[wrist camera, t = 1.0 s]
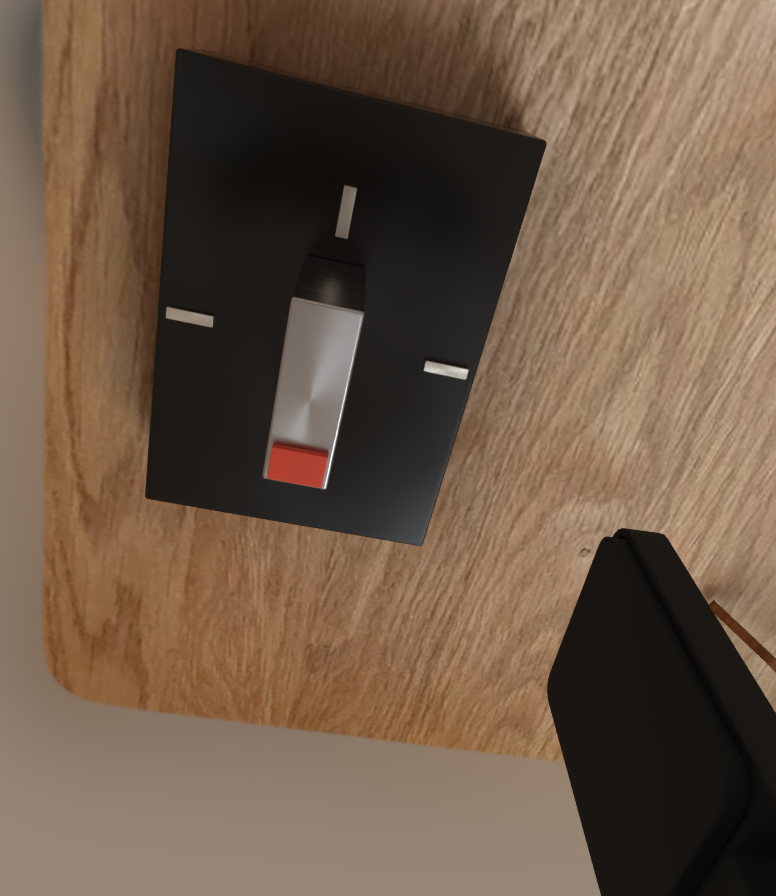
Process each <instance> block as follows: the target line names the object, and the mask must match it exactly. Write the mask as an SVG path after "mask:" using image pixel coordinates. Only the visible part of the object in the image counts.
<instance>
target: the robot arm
mask: <svg viewBox="0 0 776 896" xmlns="http://www.w3.org/2000/svg"><path fill="white" fill-rule="evenodd" d="M547 693H548V701H549V705H550V709H551V713H552V716H553V720H554V724H555V728H556V731H557V735H558V739H559V742H560V746H561V750H562V753H563V757H564V761H565V764H566V768H567V772H568V775H569V779H570V782H571V787H572V790H573V794H574V798H575V801H576V805H577V809H578V812H579V816H580V819H581V823H582V827H583V830H584V834H585V838H586V842H587V845H588V849H589V853H590V857H591V860H592V863H593V868H594V871H595V875H596V878H597V882H598V885H599V889H600V893H601V896H776V713H775V711H774V710H773V708H772V706H771V705H770V703H769V701H768V700H767V698H766V697H765V695H764V693H763V692H762V690H761V689H760V687H759V685H758V684H757V682H756V680H755V679H754V677H753V676H752V674H751V672H750V671H749V669H748V668H747V666H746V664H745V663H744V661H743V659H742V658H741V656H740V655H739V653H738V651H737V650H736V648H735V647H734V645H733V643H732V642H731V640H730V639H729V637H728V635H727V634H726V632H725V630H724V629H723V627H722V626H721V624H720V622H719V621H718V619H717V618H716V616H715V614H714V613H713V611H712V609H711V608H710V606H709V605H708V603H707V601H706V600H705V598H704V597H703V595H702V593H701V592H700V590H699V589H698V587H697V585H696V584H695V582H694V580H693V579H692V577H691V576H690V574H689V572H688V571H687V569H686V568H685V566H684V564H683V563H682V561H681V559H680V558H679V556H678V555H677V553H676V551H675V550H674V548H673V547H672V545H671V543H670V542H669V540H668V539H667V538H666V536H665V535H664V534H661V533H655V532H648V531H640V530H633V529H625V528H622V529H619V530H618V531H617V532H616V533H615V534H614V536H613V537H605V538H603V539H602V540H601V542H600V544H599V546H598V549H597V551H596V554H595V557H594V559H593V562H592V565H591V567H590V570H589V572H588V575H587V578H586V580H585V583H584V585H583V588H582V591H581V593H580V596H579V598H578V601H577V604H576V606H575V609H574V612H573V614H572V617H571V619H570V622H569V625H568V627H567V630H566V632H565V635H564V638H563V640H562V643H561V645H560V648H559V651H558V653H557V656H556V658H555V661H554V664H553V666H552V669H551V672H550V675H549V678H548V687H547Z"/></svg>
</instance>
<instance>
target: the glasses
mask: <svg viewBox="0 0 776 896" xmlns="http://www.w3.org/2000/svg"><path fill="white" fill-rule="evenodd" d="M709 606H710V608H711V609H712V611H713V613H714V614H715V615H716V616H717V617H719V618H720V619H721V620H722V621H723V622H724V623H725V624H726V625H727V626H728V627H729V628H730V629H731V630H732V631H733V632H734V633H735V634H737V635H738V636H739V637H740V638H741V639H742V640H743V641H744V642H745V643H746V644H747V645H748V646H749V647H750V648H751V649H752V650H753V651H754V652H756V653H757V654H758V655H759V656H760V657H761V658H762V659H763V660H764V661H765V662H766V663H767V664H768V665H769V666H770V667H771V668H772V669H773V670H774V671H775V672H776V658H775V657H774V656H773V655H772V654H771V653H769V652H768V651H767V650H766V649H765V648H764V647H763V646H762V645H761V644H760V643H759V642H758V641H757V640H756V639H755V638H754V637H752V636H751V635H750V634H749V633H748V632H747V631H746V630H745V629H744V628H743V627H742V626H741V625H740V624H739V623H738V622H736V621H735V620H734V619H733V618H732V617H731V616H730V615H729V614H728V613H727V612H726V611H725V610H724V609H723V608H722V607H720V606H719V605H718V604H717V603H716V602H715V601H714V600H713V601H712V602H711V603H710V604H709Z"/></svg>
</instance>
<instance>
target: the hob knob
mask: <svg viewBox="0 0 776 896" xmlns="http://www.w3.org/2000/svg"><path fill="white" fill-rule="evenodd" d="M365 293H366V268H364V267H359V266H355V265H350V264H346V263H341V262H337V261H332V260H328V259H323V258H319V257H314V256H310V255H308V256H306V257H305V260H304V263H303V266H302V269H301V272H300V274H299V277H298V280H297V283H296V286H295V289H294V292H293V294H292V297H291V301H290V307H289V314H288V320H287V326H286V332H285V338H284V344H283V350H282V357H281V363H280V369H279V375H278V381H277V387H276V393H275V400H274V406H273V412H272V418H271V424H270V430H269V436H268V443H267V449H266V455H265V461H264V467H263V473H262V476H263V478H264V479H269V480H274V481H280V482H285V483H291V484H297V485H302V486H308V487H313V488H319V489H326V488H327V486H328V481H329V477H330V472H331V467H332V463H333V458H334V454H335V449H336V444H337V440H338V435H339V431H340V426H341V421H342V417H343V412H344V408H345V403H346V398H347V394H348V389H349V385H350V380H351V375H352V371H353V366H354V362H355V357H356V352H357V348H358V343H359V339H360V334H361V329H362V325H363V320H364V316H365Z"/></svg>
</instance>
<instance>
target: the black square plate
mask: <svg viewBox="0 0 776 896" xmlns="http://www.w3.org/2000/svg"><path fill="white" fill-rule="evenodd" d="M545 148H546V141H545V140H543V139H541V138H539V137H536V136H534V135H532V134H530V133H528V132H525V131H522V130H518V129H514V128H510V127H506V126H502V125H498V124H494V123H490V122H487V121H483V120H479V119H475V118H471V117H467V116H463V115H459V114H455V113H451V112H447V111H443V110H439V109H435V108H431V107H427V106H423V105H419V104H415V103H411V102H408V101H404V100H400V99H396V98H392V97H388V96H384V95H380V94H376V93H372V92H368V91H364V90H360V89H356V88H352V87H348V86H344V85H340V84H336V83H333V82H329V81H325V80H321V79H317V78H313V77H309V76H305V75H301V74H297V73H293V72H289V71H285V70H281V69H277V68H273V67H269V66H265V65H261V64H258V63H254V62H250V61H246V60H242V59H238V58H234V57H230V56H226V55H222V54H218V53H214V52H210V51H206V50H199V49H185V48H179V49H177V50H176V57H175V72H174V86H173V101H172V115H171V130H170V144H169V158H168V173H167V187H166V202H165V216H164V231H163V245H162V260H161V274H160V288H159V303H158V317H157V332H156V346H155V361H154V375H153V390H152V404H151V418H150V433H149V447H148V462H147V476H146V491H145V497H146V498H147V499H151V500H157V501H163V502H169V503H175V504H180V505H186V506H192V507H198V508H203V509H209V510H215V511H221V512H226V513H232V514H238V515H244V516H250V517H255V518H261V519H267V520H273V521H278V522H284V523H290V524H296V525H301V526H307V527H313V528H319V529H325V530H330V531H336V532H342V533H348V534H353V535H359V536H365V537H371V538H377V539H382V540H388V541H394V542H400V543H405V544H411V545H417V546H422V544H423V542H424V538H425V535H426V532H427V529H428V525H429V522H430V519H431V516H432V513H433V509H434V506H435V503H436V500H437V496H438V493H439V490H440V487H441V484H442V480H443V477H444V474H445V471H446V467H447V464H448V461H449V458H450V455H451V451H452V448H453V445H454V442H455V438H456V435H457V432H458V429H459V425H460V422H461V419H462V416H463V413H464V409H465V406H466V403H467V400H468V396H469V393H470V390H471V387H472V384H473V380H474V377H475V374H476V371H477V367H478V364H479V361H480V358H481V354H482V351H483V348H484V345H485V342H486V338H487V335H488V332H489V329H490V325H491V322H492V319H493V316H494V313H495V309H496V306H497V303H498V300H499V296H500V293H501V290H502V287H503V284H504V280H505V277H506V274H507V271H508V267H509V264H510V261H511V258H512V254H513V251H514V248H515V245H516V242H517V238H518V235H519V232H520V229H521V225H522V222H523V219H524V216H525V213H526V209H527V206H528V203H529V200H530V196H531V193H532V190H533V187H534V183H535V180H536V177H537V174H538V171H539V167H540V164H541V161H542V158H543V154H544V151H545ZM308 255H310V256H314V257H319V258H323V259H328V260H332V261H337V262H341V263H346V264H350V265H355V266H359V267H364V268H366V293H365V316H364V320H363V325H362V329H361V334H360V339H359V343H358V348H357V352H356V357H355V362H354V366H353V371H352V375H351V380H350V385H349V389H348V394H347V398H346V403H345V408H344V412H343V417H342V421H341V426H340V431H339V435H338V440H337V444H336V449H335V454H334V458H333V463H332V467H331V472H330V477H329V481H328V486H327V488H326V489H319V488H313V487H308V486H302V485H297V484H291V483H285V482H280V481H274V480H269V479H264V478H263V476H262V473H263V467H264V461H265V455H266V449H267V443H268V436H269V430H270V424H271V418H272V412H273V406H274V400H275V393H276V387H277V381H278V375H279V369H280V363H281V357H282V350H283V344H284V338H285V332H286V326H287V320H288V314H289V307H290V301H291V297H292V294H293V292H294V289H295V286H296V283H297V280H298V277H299V274H300V272H301V269H302V266H303V263H304V260H305V257H306V256H308Z"/></svg>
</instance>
